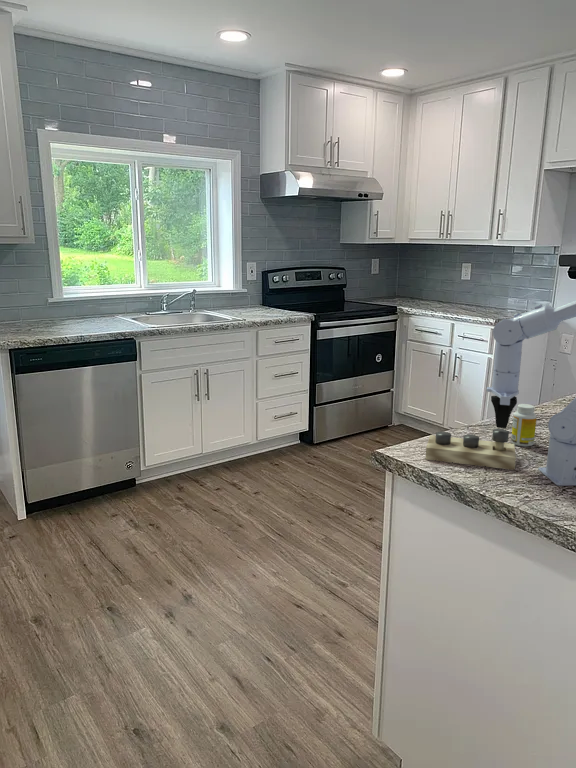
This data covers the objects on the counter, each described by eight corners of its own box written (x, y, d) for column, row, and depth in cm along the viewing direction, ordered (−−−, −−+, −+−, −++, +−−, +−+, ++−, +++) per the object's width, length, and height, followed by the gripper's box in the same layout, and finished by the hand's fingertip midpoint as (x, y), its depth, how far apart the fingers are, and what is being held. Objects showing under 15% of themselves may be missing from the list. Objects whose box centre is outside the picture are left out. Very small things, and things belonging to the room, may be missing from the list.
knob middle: (477, 455, 141) (479, 435, 139) (477, 460, 137) (479, 439, 136) (462, 453, 142) (463, 433, 141) (461, 458, 138) (463, 438, 137)
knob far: (450, 452, 143) (451, 432, 141) (449, 457, 139) (450, 436, 138) (435, 450, 144) (436, 430, 143) (433, 455, 140) (435, 435, 139)
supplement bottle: (537, 444, 149) (542, 406, 147) (526, 448, 146) (530, 410, 143) (517, 438, 153) (521, 401, 151) (506, 443, 150) (510, 405, 148)
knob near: (506, 450, 138) (508, 429, 137) (507, 455, 135) (509, 434, 134) (490, 448, 139) (492, 428, 138) (490, 453, 136) (492, 432, 135)
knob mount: (512, 455, 141) (514, 443, 140) (514, 469, 132) (515, 457, 131) (429, 446, 147) (430, 435, 147) (425, 459, 138) (426, 447, 137)
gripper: (488, 363, 140) (483, 417, 143) (488, 375, 127) (483, 434, 130) (519, 365, 138) (513, 419, 141) (522, 378, 125) (516, 437, 128)
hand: (501, 427), depth 136 cm, fingers closed
